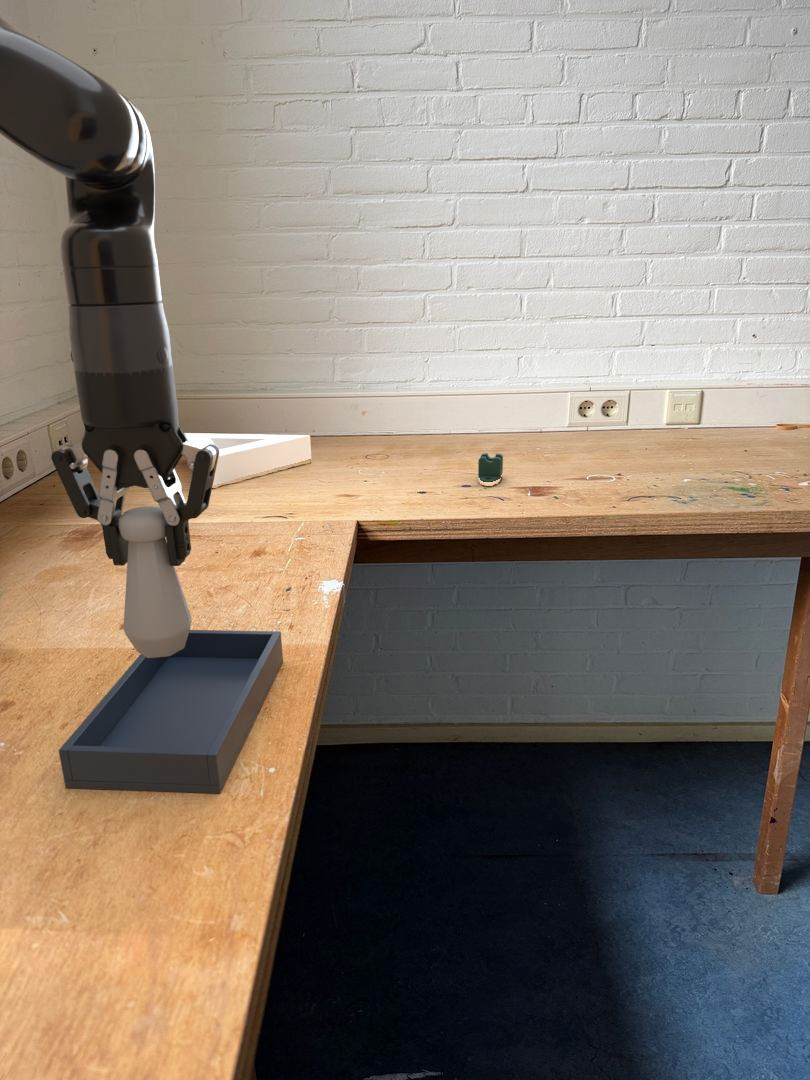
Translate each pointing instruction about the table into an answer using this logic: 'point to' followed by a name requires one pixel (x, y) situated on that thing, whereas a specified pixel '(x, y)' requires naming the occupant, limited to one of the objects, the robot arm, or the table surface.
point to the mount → (490, 467)
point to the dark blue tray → (176, 716)
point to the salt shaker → (152, 587)
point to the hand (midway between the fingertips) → (150, 561)
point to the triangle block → (252, 452)
